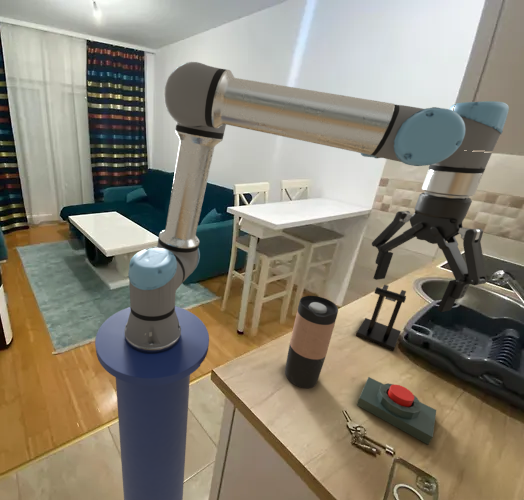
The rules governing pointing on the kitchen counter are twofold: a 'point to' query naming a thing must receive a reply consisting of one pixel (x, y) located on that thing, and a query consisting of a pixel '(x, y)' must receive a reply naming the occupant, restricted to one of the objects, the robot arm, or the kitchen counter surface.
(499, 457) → the kitchen counter surface
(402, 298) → the lever
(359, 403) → the button box
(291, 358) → the travel mug
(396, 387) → the button
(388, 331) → the bracket
